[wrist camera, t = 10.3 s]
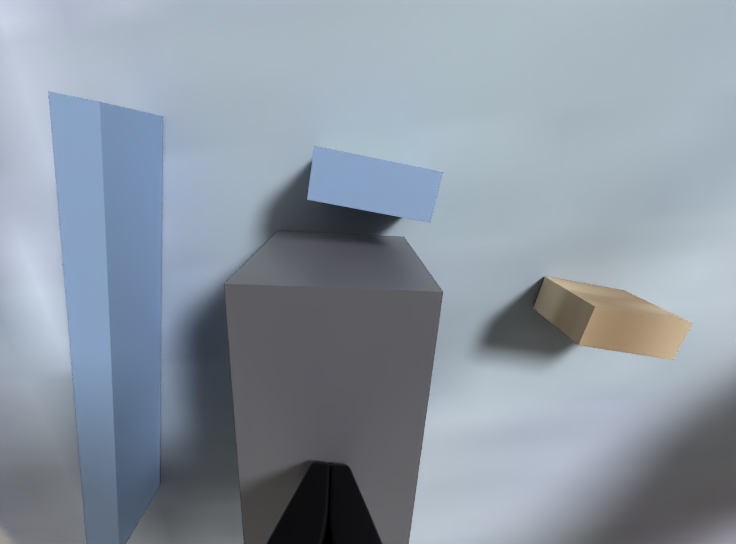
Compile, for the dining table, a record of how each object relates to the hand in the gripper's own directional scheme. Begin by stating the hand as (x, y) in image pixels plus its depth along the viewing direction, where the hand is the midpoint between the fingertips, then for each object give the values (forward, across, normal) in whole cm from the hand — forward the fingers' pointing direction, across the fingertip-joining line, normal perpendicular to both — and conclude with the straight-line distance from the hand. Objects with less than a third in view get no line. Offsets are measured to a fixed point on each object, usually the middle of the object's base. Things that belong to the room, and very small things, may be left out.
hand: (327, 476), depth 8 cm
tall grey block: (+5, 0, 0) cm, 5 cm away
